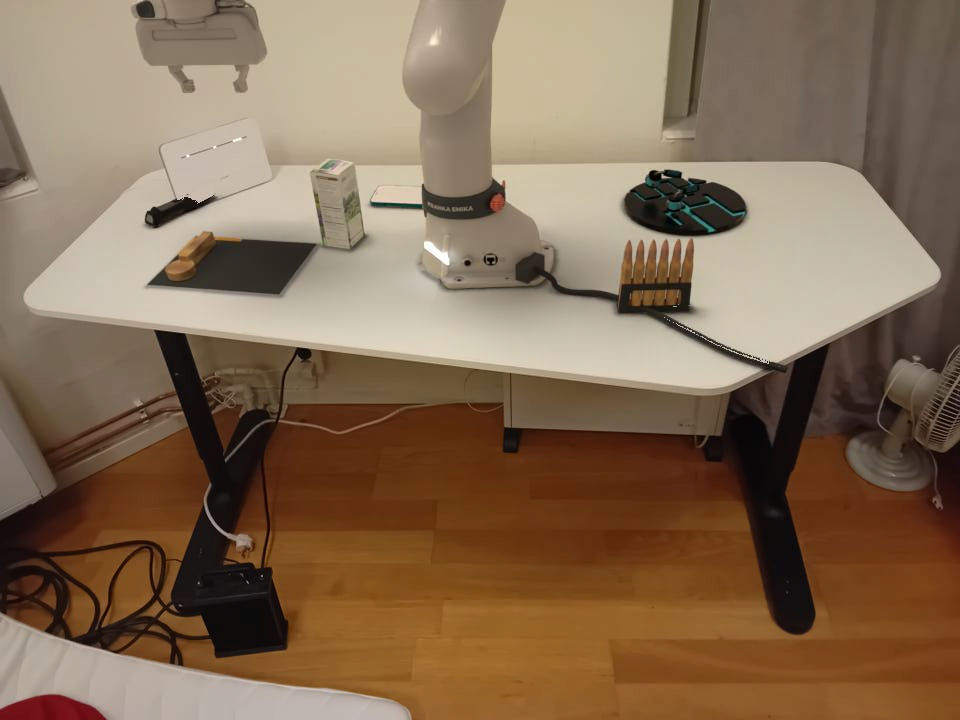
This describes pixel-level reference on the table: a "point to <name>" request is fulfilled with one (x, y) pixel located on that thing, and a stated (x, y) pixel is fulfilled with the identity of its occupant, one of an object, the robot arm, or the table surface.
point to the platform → (683, 205)
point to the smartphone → (397, 196)
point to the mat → (243, 266)
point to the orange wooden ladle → (190, 258)
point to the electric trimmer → (169, 210)
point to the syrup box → (337, 203)
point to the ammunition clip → (656, 279)
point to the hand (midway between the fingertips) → (215, 91)
